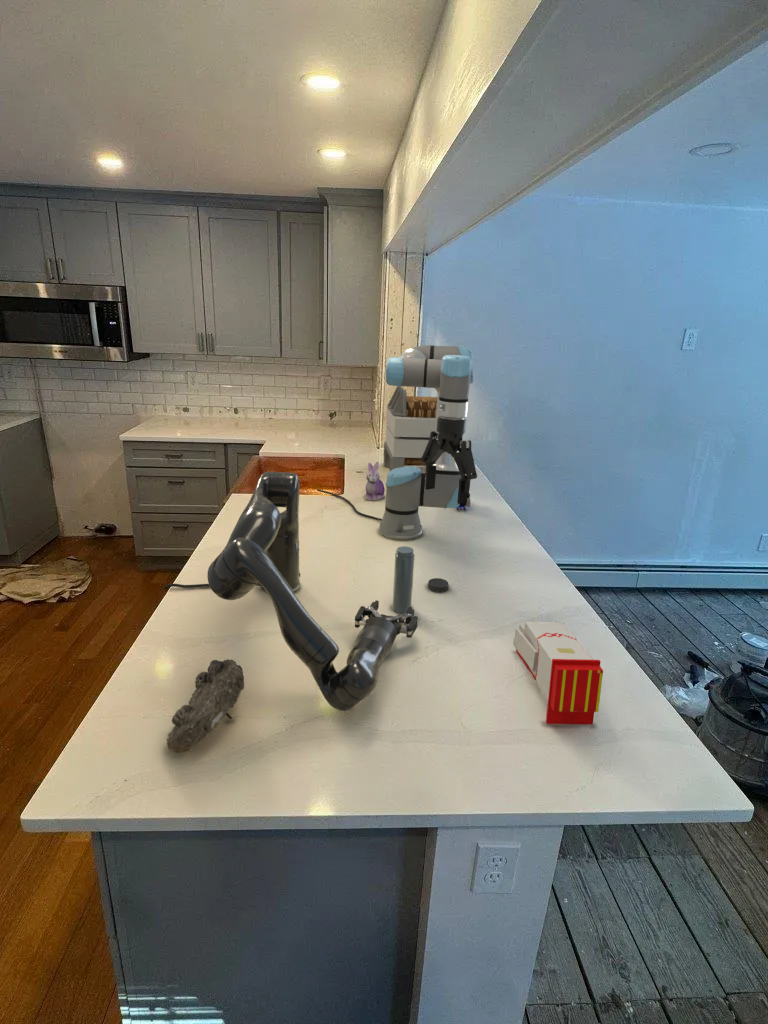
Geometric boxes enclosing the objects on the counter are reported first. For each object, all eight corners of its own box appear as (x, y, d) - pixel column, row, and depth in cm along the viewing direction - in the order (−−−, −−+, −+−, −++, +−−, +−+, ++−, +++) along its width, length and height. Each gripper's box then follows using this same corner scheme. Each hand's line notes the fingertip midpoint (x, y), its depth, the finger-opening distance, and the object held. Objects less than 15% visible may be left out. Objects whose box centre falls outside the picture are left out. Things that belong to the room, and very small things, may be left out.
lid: (448, 593, 159) (448, 588, 159) (427, 591, 160) (427, 586, 160) (448, 584, 165) (448, 579, 164) (428, 582, 166) (428, 577, 165)
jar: (389, 605, 151) (392, 547, 146) (405, 602, 153) (409, 544, 148) (397, 614, 147) (400, 554, 141) (414, 611, 149) (418, 551, 143)
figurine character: (470, 515, 225) (465, 499, 238) (472, 498, 221) (467, 483, 235) (453, 515, 224) (449, 499, 238) (455, 497, 221) (451, 482, 234)
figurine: (369, 502, 230) (370, 466, 225) (359, 494, 239) (360, 460, 234) (390, 499, 234) (391, 464, 229) (378, 492, 243) (380, 458, 238)
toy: (559, 606, 135) (612, 666, 105) (553, 658, 137) (604, 731, 108) (508, 605, 134) (547, 665, 105) (504, 658, 137) (541, 730, 108)
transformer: (382, 463, 289) (386, 382, 275) (445, 464, 293) (451, 384, 279) (390, 482, 257) (394, 392, 243) (460, 483, 261) (468, 394, 247)
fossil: (192, 660, 117) (244, 628, 112) (224, 691, 120) (276, 661, 115) (142, 746, 98) (202, 712, 93) (182, 779, 101) (242, 748, 96)
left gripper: (344, 649, 128) (365, 614, 143) (405, 662, 124) (421, 625, 139) (344, 620, 125) (367, 588, 140) (407, 632, 122) (423, 598, 136)
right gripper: (411, 410, 154) (407, 484, 161) (473, 427, 135) (465, 511, 142) (433, 408, 158) (428, 481, 165) (496, 425, 139) (487, 507, 146)
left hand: (394, 606), depth 139 cm, fingers open, 8 cm apart
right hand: (445, 495), depth 153 cm, fingers open, 13 cm apart
